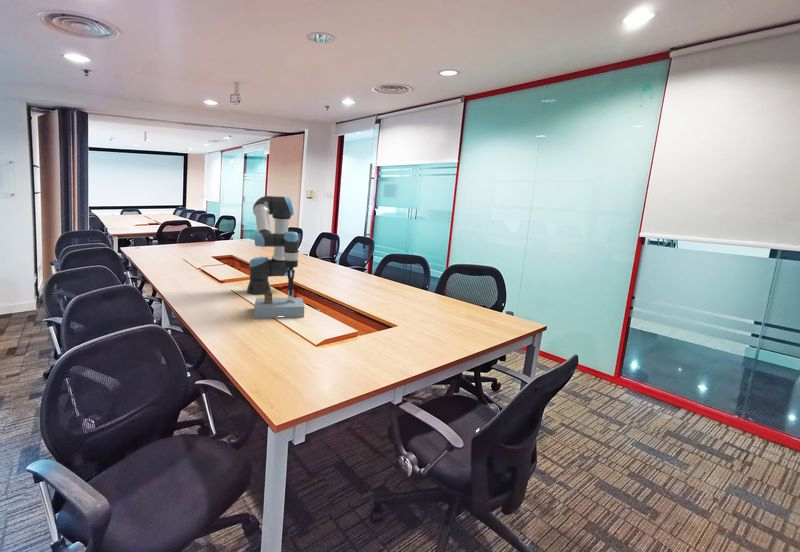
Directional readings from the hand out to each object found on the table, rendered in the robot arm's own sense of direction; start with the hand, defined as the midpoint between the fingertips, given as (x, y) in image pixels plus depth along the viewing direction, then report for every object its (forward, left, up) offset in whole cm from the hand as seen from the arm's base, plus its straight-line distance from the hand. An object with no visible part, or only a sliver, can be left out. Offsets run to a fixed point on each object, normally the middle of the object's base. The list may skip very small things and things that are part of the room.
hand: (290, 300), depth 225 cm
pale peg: (0, 0, -6) cm, 6 cm away
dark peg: (0, -12, -2) cm, 12 cm away
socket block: (0, -6, -7) cm, 9 cm away
